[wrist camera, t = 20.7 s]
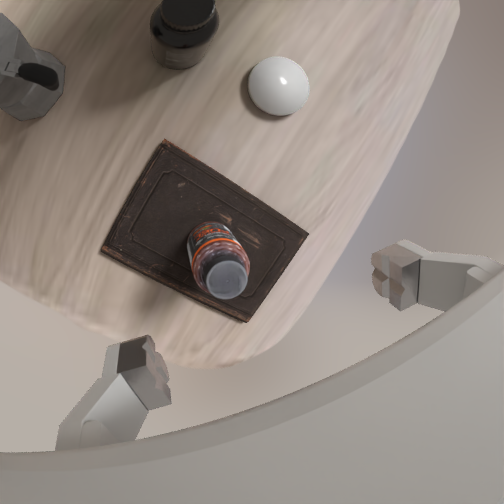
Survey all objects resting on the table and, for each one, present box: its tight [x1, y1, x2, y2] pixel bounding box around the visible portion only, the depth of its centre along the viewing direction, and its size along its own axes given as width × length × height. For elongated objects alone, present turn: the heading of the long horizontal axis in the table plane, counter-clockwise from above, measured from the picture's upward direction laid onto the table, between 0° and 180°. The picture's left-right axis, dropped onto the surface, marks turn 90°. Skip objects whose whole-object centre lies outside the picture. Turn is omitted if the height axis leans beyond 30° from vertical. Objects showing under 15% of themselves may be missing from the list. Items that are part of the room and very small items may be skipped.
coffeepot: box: [0, 13, 65, 121], centre depth 18 cm, size 15×9×18 cm, turn 66°
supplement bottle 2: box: [187, 222, 250, 299], centre depth 33 cm, size 6×6×11 cm
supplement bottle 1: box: [150, 0, 219, 69], centre depth 24 cm, size 7×7×12 cm
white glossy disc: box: [247, 57, 309, 116], centre depth 34 cm, size 8×8×1 cm
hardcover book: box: [101, 139, 309, 323], centre depth 39 cm, size 16×23×2 cm
